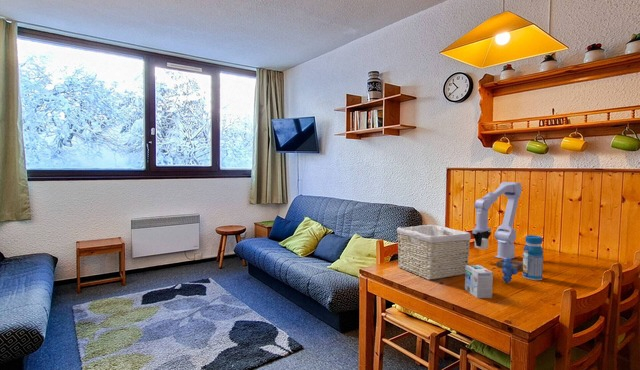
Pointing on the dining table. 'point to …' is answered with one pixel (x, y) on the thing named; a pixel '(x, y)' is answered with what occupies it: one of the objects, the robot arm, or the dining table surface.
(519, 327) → the dining table surface
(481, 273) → the light bulb box
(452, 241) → the basket
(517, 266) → the walnut block
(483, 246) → the off-white block
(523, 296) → the dining table surface
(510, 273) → the grapes
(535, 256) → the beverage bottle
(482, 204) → the robot arm
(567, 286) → the dining table surface
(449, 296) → the dining table surface
